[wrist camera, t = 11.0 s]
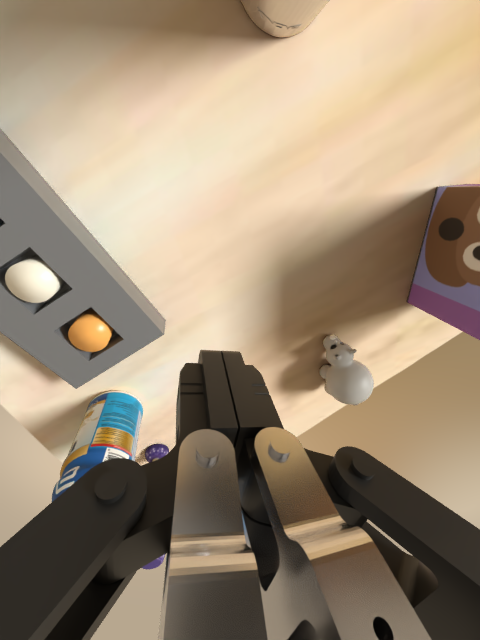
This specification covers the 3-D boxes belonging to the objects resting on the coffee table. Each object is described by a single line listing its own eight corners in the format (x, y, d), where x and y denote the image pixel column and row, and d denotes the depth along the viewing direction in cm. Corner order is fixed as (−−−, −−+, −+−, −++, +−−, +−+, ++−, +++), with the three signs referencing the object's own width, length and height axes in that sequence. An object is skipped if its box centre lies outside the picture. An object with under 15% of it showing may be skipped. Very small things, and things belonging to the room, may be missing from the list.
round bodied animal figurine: (340, 323, 47) (368, 329, 38) (358, 383, 48) (389, 402, 40) (303, 336, 46) (323, 346, 38) (322, 397, 48) (346, 419, 39)
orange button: (69, 320, 33) (59, 333, 30) (97, 302, 33) (89, 313, 30) (95, 344, 35) (88, 357, 32) (122, 327, 35) (117, 339, 32)
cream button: (11, 268, 29) (-6, 277, 26) (43, 247, 29) (28, 254, 26) (45, 299, 31) (32, 310, 29) (74, 279, 31) (64, 288, 28)
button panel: (-123, 200, 25) (-172, 203, 22) (-10, 116, 24) (-42, 105, 21) (85, 370, 38) (76, 388, 34) (165, 320, 37) (164, 334, 33)
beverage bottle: (149, 421, 45) (130, 571, 27) (97, 431, 44) (42, 595, 26) (137, 383, 41) (105, 531, 23) (79, 393, 40) (0, 558, 22)
